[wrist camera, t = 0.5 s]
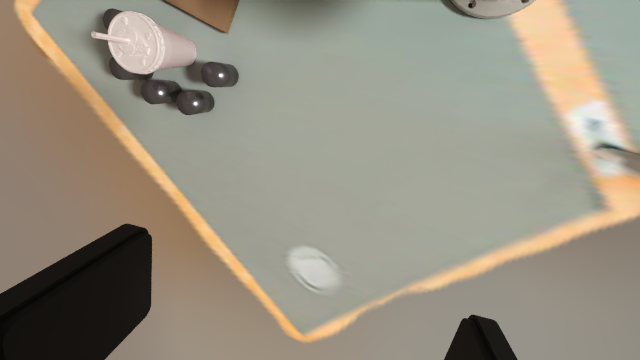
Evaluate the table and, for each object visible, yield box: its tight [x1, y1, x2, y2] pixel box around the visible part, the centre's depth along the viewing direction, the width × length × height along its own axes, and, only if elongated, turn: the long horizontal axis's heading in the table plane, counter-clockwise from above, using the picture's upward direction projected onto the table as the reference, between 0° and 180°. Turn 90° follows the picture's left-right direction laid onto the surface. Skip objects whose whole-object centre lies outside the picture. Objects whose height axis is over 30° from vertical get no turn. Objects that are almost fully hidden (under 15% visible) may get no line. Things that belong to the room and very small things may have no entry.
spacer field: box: [103, 9, 239, 115], centre depth 41 cm, size 9×17×4 cm, turn 63°
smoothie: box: [91, 11, 197, 74], centre depth 35 cm, size 6×6×14 cm
